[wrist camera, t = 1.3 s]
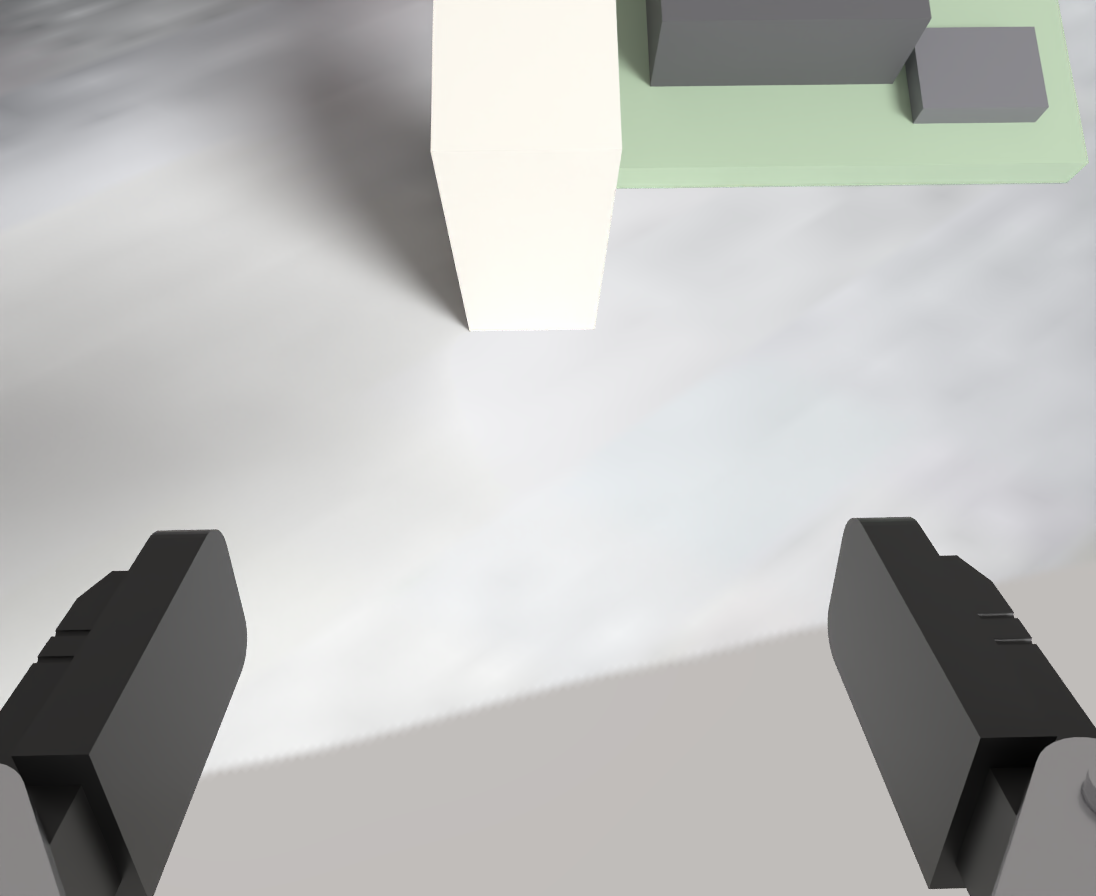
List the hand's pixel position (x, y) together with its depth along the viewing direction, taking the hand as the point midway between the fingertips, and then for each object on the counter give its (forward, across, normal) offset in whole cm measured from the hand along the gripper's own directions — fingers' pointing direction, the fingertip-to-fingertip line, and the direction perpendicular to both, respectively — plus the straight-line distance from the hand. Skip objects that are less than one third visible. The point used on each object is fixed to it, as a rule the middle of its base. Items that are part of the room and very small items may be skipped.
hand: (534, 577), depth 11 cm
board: (+25, -8, -5) cm, 27 cm away
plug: (+18, 0, +2) cm, 19 cm away
